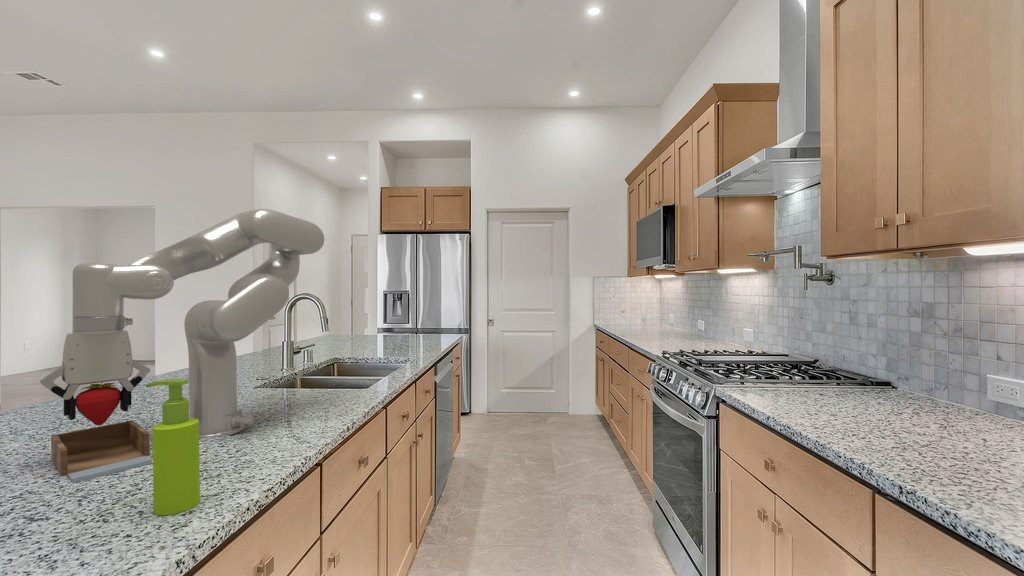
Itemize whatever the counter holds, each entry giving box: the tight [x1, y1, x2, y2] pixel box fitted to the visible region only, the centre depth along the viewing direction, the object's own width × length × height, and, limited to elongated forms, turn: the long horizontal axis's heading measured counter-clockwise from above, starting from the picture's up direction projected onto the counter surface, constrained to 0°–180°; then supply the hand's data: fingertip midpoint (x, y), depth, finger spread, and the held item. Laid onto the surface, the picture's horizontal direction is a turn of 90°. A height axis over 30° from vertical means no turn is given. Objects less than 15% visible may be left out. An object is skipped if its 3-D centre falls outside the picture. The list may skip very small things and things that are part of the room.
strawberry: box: [75, 382, 121, 427], centre depth 89 cm, size 6×8×10 cm
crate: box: [50, 420, 151, 477], centre depth 90 cm, size 14×13×6 cm
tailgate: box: [67, 455, 153, 484], centre depth 84 cm, size 1×11×5 cm
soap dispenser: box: [144, 378, 201, 516], centre depth 71 cm, size 6×7×20 cm
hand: (98, 413), depth 89 cm, fingers closed on strawberry, 7 cm apart
